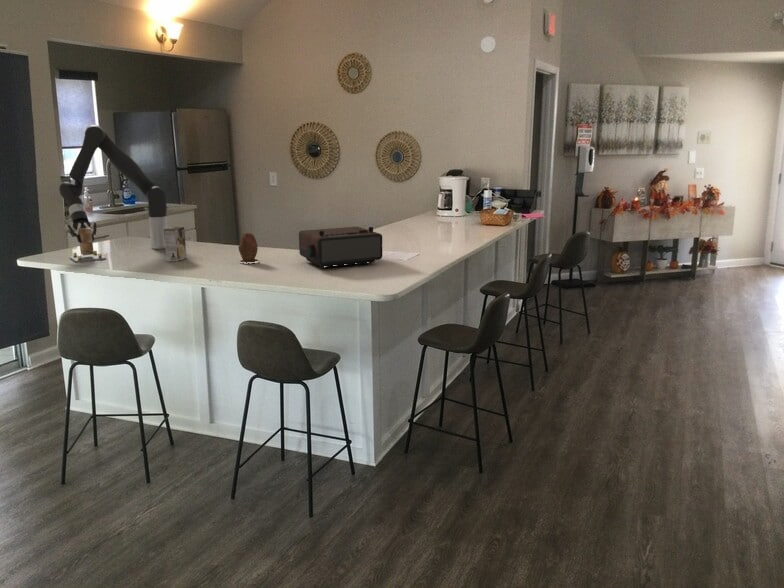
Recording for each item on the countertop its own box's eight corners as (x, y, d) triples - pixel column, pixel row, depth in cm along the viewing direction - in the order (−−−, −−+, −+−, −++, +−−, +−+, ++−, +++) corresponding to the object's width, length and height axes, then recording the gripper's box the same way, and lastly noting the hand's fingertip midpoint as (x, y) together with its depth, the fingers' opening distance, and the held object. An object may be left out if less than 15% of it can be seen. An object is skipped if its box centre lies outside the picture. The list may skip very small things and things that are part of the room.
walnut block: (91, 252, 344) (88, 227, 341) (93, 254, 340) (91, 228, 337) (80, 253, 341) (77, 228, 338) (83, 255, 338) (80, 229, 334)
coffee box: (175, 258, 344) (172, 226, 340) (187, 258, 343) (184, 226, 339) (166, 261, 335) (163, 229, 331) (177, 262, 334) (175, 229, 330)
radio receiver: (314, 272, 310) (313, 233, 306) (294, 262, 334) (293, 225, 329) (383, 265, 326) (382, 228, 322) (359, 256, 349) (359, 221, 345)
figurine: (239, 262, 336) (239, 231, 334) (260, 262, 337) (259, 232, 335) (237, 264, 327) (236, 233, 325) (258, 264, 328) (257, 233, 326)
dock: (99, 255, 351) (98, 249, 350) (106, 259, 340) (105, 253, 339) (69, 258, 343) (69, 252, 342) (76, 262, 332) (75, 256, 331)
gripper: (63, 211, 338) (71, 238, 331) (94, 209, 346) (102, 235, 339) (62, 220, 343) (70, 247, 337) (92, 218, 351) (101, 244, 345)
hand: (86, 241), depth 338 cm, fingers closed on walnut block, 5 cm apart
